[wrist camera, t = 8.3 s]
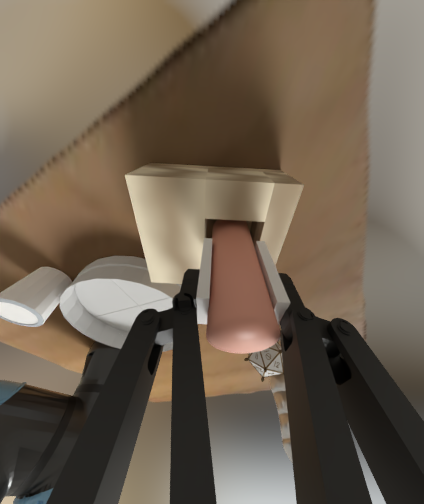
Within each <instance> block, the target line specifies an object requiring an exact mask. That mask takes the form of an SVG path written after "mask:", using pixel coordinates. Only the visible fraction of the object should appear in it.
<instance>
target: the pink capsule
mask: <svg viewBox="0 0 424 504" xmlns="http://www.w3.org/2000/svg"><path fill="white" fill-rule="evenodd" d="M212 238H213V239H212V257H211V276H210V295H209V308H208V316H207V333H206V337H207V340H208V342H209V343H210V344H211V345H212V346H214V347H215V348H217V349H219V350H222V351H225V352H230V353H253V352H258V351H262V350H265V349H267V348H269V347H271V346H273V345H274V344H276V343H277V342H278V340H279V339H280V336H281V331H280V328H279V325H278V322H277V319H276V315H275V312H274V309H273V306H272V302H271V299H270V296H269V293H268V289H267V286H266V283H265V280H264V277H263V273H262V270H261V267H260V264H259V260H258V257H257V254H256V251H255V247H254V244H253V241H252V238H251V235H250V231H249V228H248V225H247V222H246V221H241V220H222V219H217V220H216V221H215V223H214V225H213V230H212Z"/></svg>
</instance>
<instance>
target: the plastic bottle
mask: <svg viewBox="0 0 424 504" xmlns="http://www.w3.org/2000/svg"><path fill="white" fill-rule="evenodd" d="M269 382H270V387H271V390H272V393H273V394H274V399H275V402H276V406H277V409H278V414H279V420H280V426H281V435H282V443H283V447H284V450H285V452H286V454H287V455H288V457H289V459H290V460H291V462H292V463H293V460H292V450H291V440H290V430H289V420H288V410H287V400H286V390H285V380H284V375H283V374H280V375H274V376H270V378H269Z"/></svg>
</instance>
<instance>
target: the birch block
mask: <svg viewBox="0 0 424 504" xmlns="http://www.w3.org/2000/svg"><path fill="white" fill-rule="evenodd" d="M125 178H126V182H127V186H128V190H129V194H130V198H131V202H132V206H133V210H134V214H135V218H136V222H137V227H138V231H139V235H140V239H141V243H142V247H143V251H144V255H145V259H146V263H147V267H148V271H149V275H150V279H151V282H154V283H172V284H182V280H183V276H184V273H185V272H186V270H187V269H200V265H201V257H202V250H203V242H204V238H212V230H213V225H214V223H215V221H216V220H217V219H222V220H241V221H246V222H247V225H248V228H249V231H250V235H251V238H252V241H253V244H254V247H255V244H256V241H265V243H266V245H267V248H268V250H269V253H270V255H271V257H272V260H273V262H274V265H276V262H277V259H278V256H279V254H280V251H281V248H282V245H283V243H284V240H285V237H286V234H287V231H288V229H289V226H290V223H291V220H292V217H293V215H294V212H295V209H296V206H297V203H298V201H299V198H300V195H301V192H302V190H303V187H304V184H302V183H301V182H299V181H297V180H296V179H294V178H293V177H291V176H289V175H288V174H286V173H285V172H283V171H281V170H271V169H253V168H234V167H216V166H198V165H180V164H162V163H149V164H147V165H145V166H143V167H140V168H138V169H136V170H134V171H132V172H130V173H128V174H126V175H125Z"/></svg>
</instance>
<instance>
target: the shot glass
mask: <svg viewBox="0 0 424 504" xmlns="http://www.w3.org/2000/svg"><path fill="white" fill-rule="evenodd" d="M71 284H72V280H71V279H70V278H69V277H68V275H66V274H65V273H63V272H62V271H60V270H57V269H55V268H51V267H40V268H38V269H37V270H35V271H34V272H32V273H30V274H29V275H27V276H26V277H24V278H23V279H21V280H19V281H18V282H16V283H15V284H13V285H12V286H10V287H8V288H7V289H5V290H4V291H2V292H0V318H2V319H4V320H6V321H9V322H11V323H15V324H18V325H22V326H28V327H37V326H40V325H42V324H43V323H44V322H45V321H46V320H47V318H48V317H49V316H50V314H51V313H52V312H53V310H54V309H55V308H56V307H57V305H58V304H59V303H60V297H61V296H62V294H63V293H64V291H65V290H66V289H67V288H68V287H69V286H70V285H71Z"/></svg>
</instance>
